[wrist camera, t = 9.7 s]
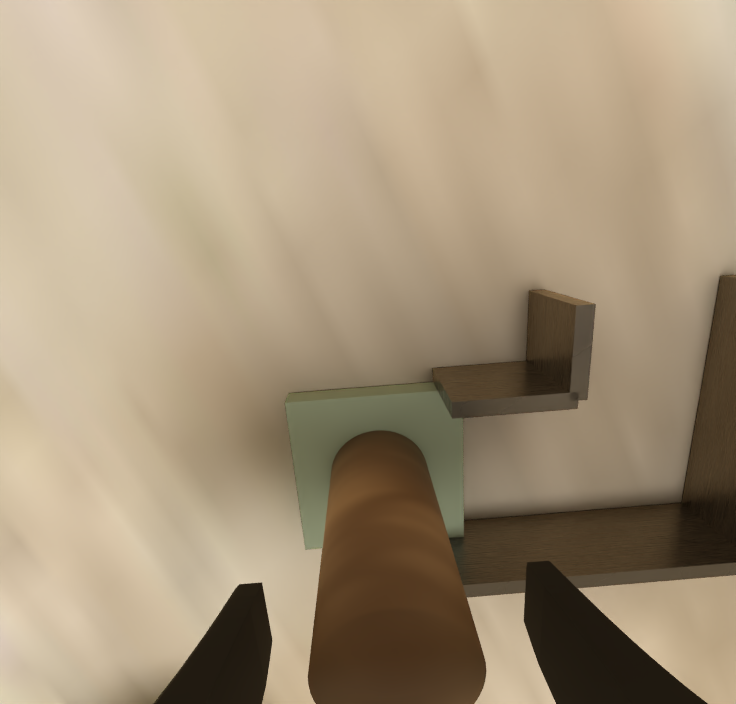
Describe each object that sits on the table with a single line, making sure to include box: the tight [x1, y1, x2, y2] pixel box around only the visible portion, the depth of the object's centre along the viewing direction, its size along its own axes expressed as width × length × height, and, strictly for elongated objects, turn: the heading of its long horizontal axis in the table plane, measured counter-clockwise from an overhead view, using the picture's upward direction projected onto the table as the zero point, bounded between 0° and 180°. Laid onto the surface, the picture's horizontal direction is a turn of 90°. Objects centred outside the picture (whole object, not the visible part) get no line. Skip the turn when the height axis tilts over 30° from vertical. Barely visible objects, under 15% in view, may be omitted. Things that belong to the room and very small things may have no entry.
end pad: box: [285, 382, 464, 550], centre depth 17 cm, size 7×7×1 cm
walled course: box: [432, 275, 736, 597], centre depth 16 cm, size 12×11×4 cm
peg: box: [308, 430, 486, 704], centre depth 13 cm, size 4×4×8 cm
